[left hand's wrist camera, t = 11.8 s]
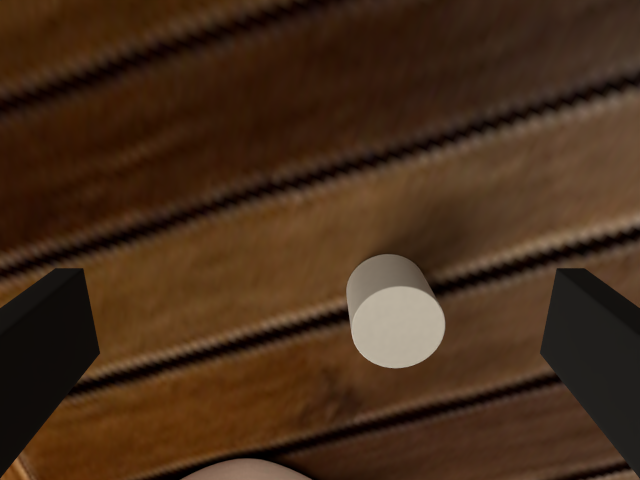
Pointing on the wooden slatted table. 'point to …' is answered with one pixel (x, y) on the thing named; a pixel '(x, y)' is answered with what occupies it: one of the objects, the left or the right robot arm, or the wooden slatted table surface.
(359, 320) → the can
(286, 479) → the anatomical model
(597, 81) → the wooden slatted table surface
